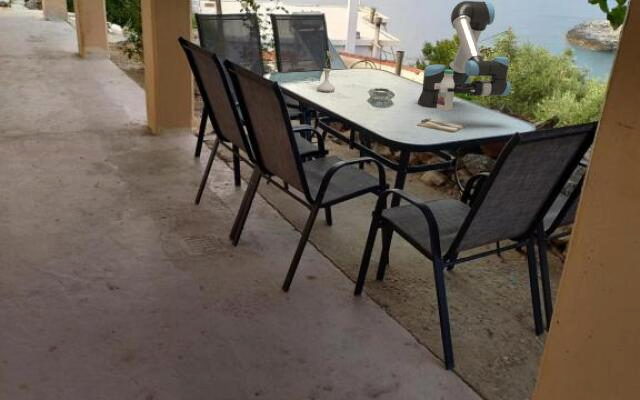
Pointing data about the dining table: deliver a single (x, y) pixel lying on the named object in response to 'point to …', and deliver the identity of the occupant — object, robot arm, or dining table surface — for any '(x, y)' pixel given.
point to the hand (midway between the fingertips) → (437, 87)
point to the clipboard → (441, 125)
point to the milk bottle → (443, 97)
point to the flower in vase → (326, 85)
